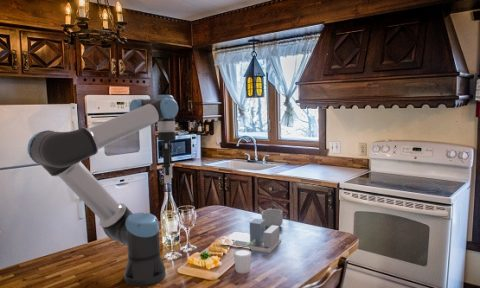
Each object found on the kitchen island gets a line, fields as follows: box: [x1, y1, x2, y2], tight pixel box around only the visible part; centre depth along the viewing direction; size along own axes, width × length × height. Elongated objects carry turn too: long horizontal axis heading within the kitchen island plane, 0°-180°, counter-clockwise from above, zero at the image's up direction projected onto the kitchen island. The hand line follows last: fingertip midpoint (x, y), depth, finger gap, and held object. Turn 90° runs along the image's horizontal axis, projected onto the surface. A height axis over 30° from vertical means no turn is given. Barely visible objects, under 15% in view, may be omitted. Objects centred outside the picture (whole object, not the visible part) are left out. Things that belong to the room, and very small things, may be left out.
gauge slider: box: [249, 218, 266, 245], centre depth 166 cm, size 5×10×9 cm, turn 154°
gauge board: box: [227, 225, 282, 254], centre depth 169 cm, size 24×14×8 cm, turn 64°
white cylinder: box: [233, 248, 252, 274], centre depth 143 cm, size 7×7×7 cm
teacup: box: [261, 208, 284, 229], centre depth 192 cm, size 14×11×8 cm
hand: (168, 180), depth 160 cm, fingers open, 13 cm apart
